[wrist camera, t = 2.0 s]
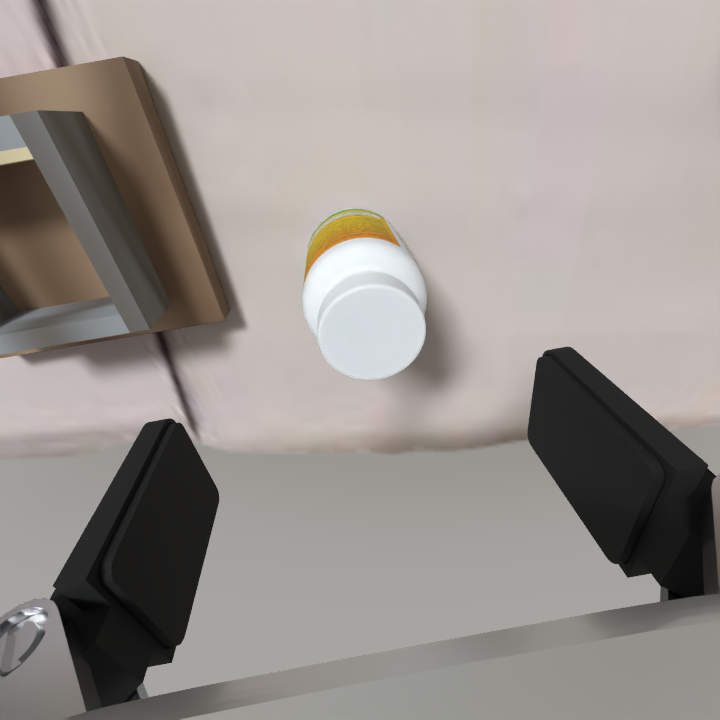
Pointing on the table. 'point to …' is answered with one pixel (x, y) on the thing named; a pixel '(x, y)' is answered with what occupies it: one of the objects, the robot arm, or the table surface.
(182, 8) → the table surface
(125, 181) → the collar board
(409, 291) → the supplement bottle
